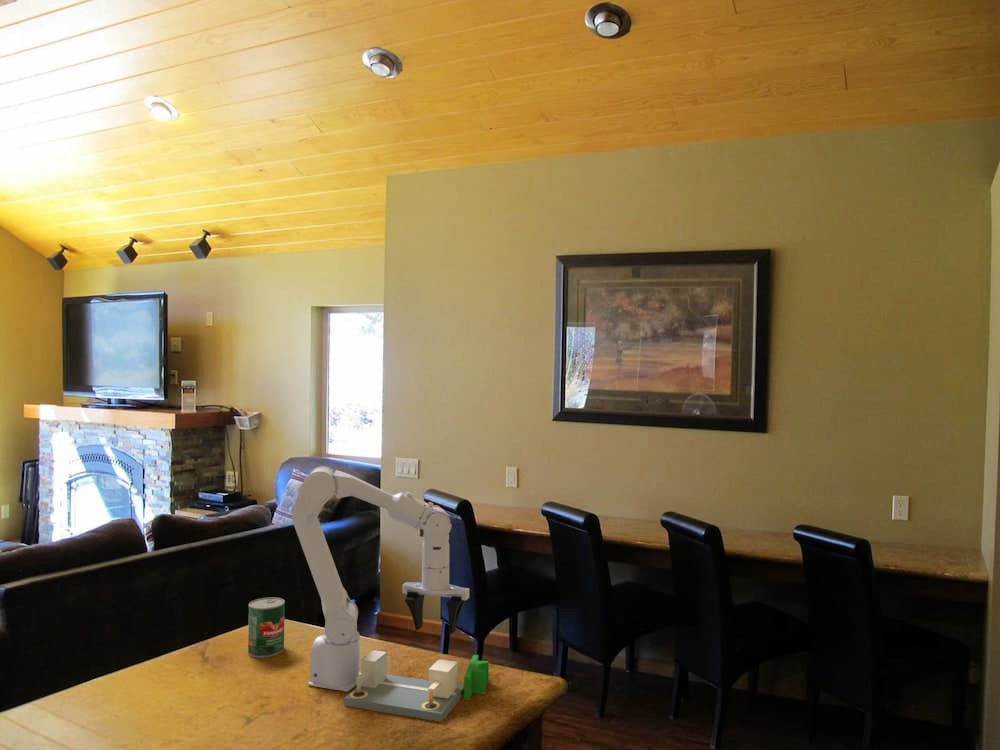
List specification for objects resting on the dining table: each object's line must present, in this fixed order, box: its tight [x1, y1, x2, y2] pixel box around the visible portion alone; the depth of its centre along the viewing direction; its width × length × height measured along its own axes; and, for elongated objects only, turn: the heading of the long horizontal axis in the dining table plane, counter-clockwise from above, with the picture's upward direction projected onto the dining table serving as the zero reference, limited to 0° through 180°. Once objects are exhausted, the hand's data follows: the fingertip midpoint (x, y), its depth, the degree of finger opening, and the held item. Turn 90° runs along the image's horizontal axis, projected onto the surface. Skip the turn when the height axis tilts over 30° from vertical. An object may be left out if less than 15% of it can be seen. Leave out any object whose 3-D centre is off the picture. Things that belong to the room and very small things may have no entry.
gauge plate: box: [343, 649, 464, 723], centre depth 132 cm, size 20×12×7 cm, turn 72°
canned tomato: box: [247, 596, 286, 658], centre depth 156 cm, size 8×8×11 cm
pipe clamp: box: [463, 654, 490, 701], centre depth 137 cm, size 11×4×5 cm, turn 173°
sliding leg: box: [428, 659, 459, 705], centre depth 130 cm, size 4×9×5 cm, turn 162°
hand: (435, 630), depth 143 cm, fingers open, 7 cm apart
